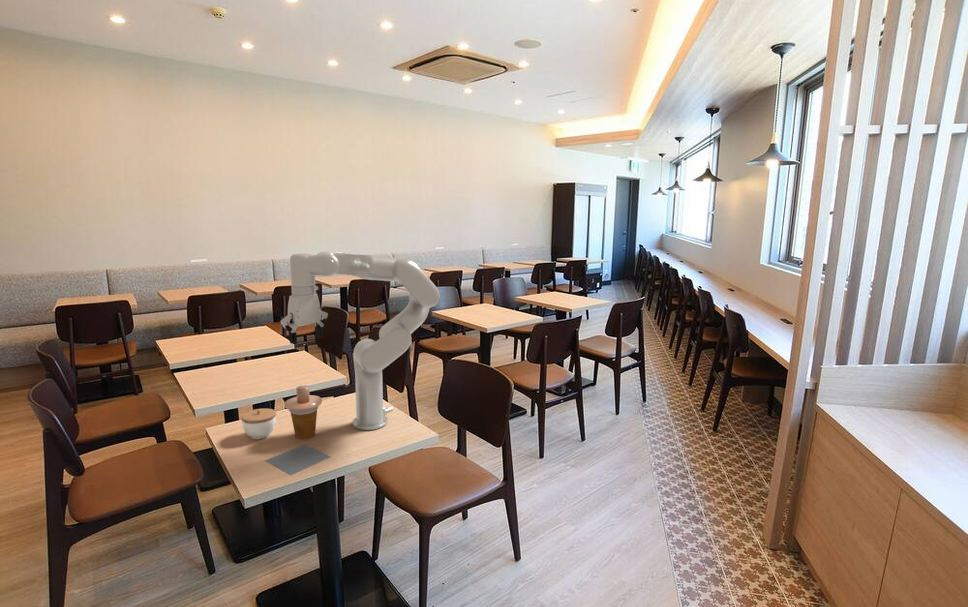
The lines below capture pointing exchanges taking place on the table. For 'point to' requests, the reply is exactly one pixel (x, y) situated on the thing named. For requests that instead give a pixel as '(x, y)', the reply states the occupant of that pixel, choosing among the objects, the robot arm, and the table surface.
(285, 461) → the mat
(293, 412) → the disposable coffee cup
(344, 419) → the table surface
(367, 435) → the table surface
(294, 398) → the lid
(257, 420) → the lidded jar
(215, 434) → the table surface
